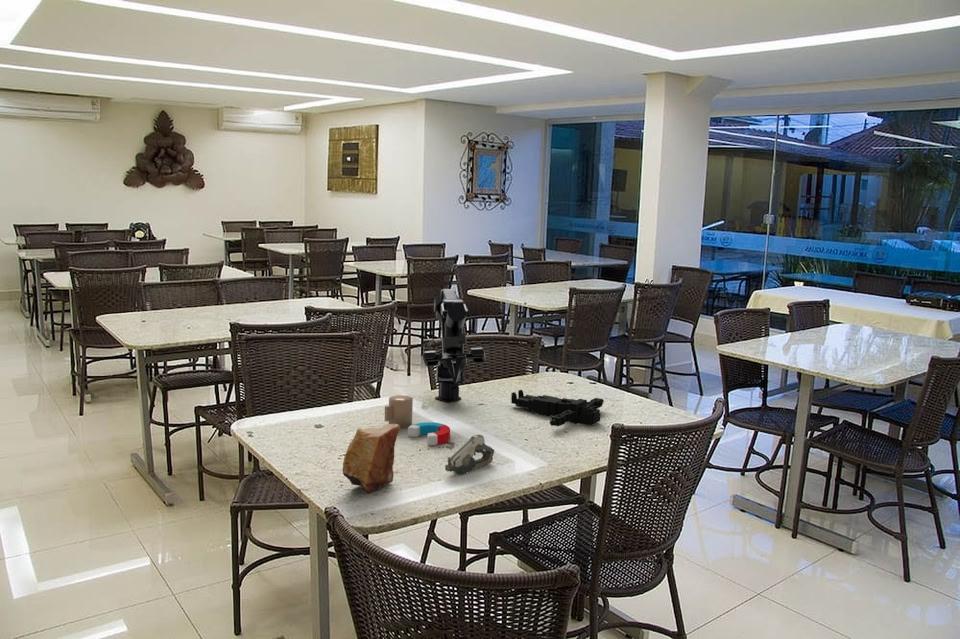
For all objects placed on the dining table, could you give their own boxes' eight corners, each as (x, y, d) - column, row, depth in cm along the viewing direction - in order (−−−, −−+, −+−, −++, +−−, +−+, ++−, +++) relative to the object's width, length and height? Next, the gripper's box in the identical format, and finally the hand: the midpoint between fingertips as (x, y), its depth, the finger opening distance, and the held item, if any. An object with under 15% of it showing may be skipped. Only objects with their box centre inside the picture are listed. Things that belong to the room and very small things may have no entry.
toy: (541, 380, 253) (620, 394, 235) (541, 398, 254) (619, 413, 236) (488, 399, 228) (571, 416, 210) (488, 419, 229) (571, 438, 211)
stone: (387, 474, 181) (387, 416, 178) (407, 486, 174) (408, 426, 171) (335, 488, 172) (335, 427, 169) (354, 501, 165) (355, 438, 162)
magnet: (432, 428, 215) (405, 435, 209) (433, 419, 215) (405, 425, 208) (458, 439, 207) (430, 446, 200) (458, 430, 206) (431, 437, 200)
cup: (377, 425, 216) (378, 399, 215) (401, 419, 223) (401, 393, 221) (393, 431, 212) (393, 405, 210) (416, 424, 218) (417, 399, 217)
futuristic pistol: (452, 491, 184) (440, 462, 180) (490, 454, 192) (479, 425, 188) (459, 494, 183) (447, 464, 178) (497, 456, 191) (486, 427, 186)
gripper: (420, 326, 221) (420, 374, 214) (481, 322, 220) (483, 370, 213) (425, 342, 231) (425, 388, 224) (484, 338, 230) (486, 384, 222)
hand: (455, 382), depth 220 cm, fingers closed
